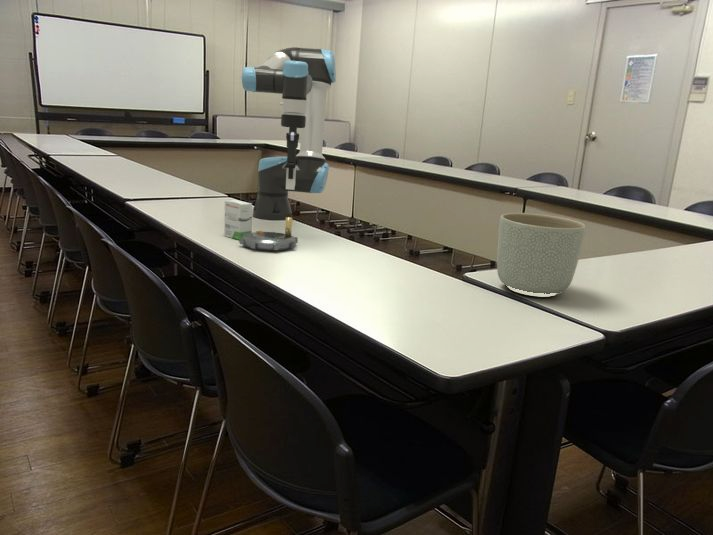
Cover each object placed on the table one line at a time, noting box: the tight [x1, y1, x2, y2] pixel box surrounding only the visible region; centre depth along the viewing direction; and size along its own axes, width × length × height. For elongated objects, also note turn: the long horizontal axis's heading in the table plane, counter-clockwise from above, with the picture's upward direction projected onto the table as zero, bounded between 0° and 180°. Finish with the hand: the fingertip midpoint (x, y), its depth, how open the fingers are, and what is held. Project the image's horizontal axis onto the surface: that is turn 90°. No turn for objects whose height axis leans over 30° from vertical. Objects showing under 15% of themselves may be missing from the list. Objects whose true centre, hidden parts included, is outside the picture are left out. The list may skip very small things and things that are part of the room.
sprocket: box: [238, 216, 299, 251], centre depth 177 cm, size 18×18×8 cm
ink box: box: [223, 199, 253, 241], centre depth 185 cm, size 9×5×12 cm, turn 49°
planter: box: [496, 212, 587, 294], centre depth 148 cm, size 21×21×19 cm
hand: (290, 187), depth 182 cm, fingers open, 9 cm apart
